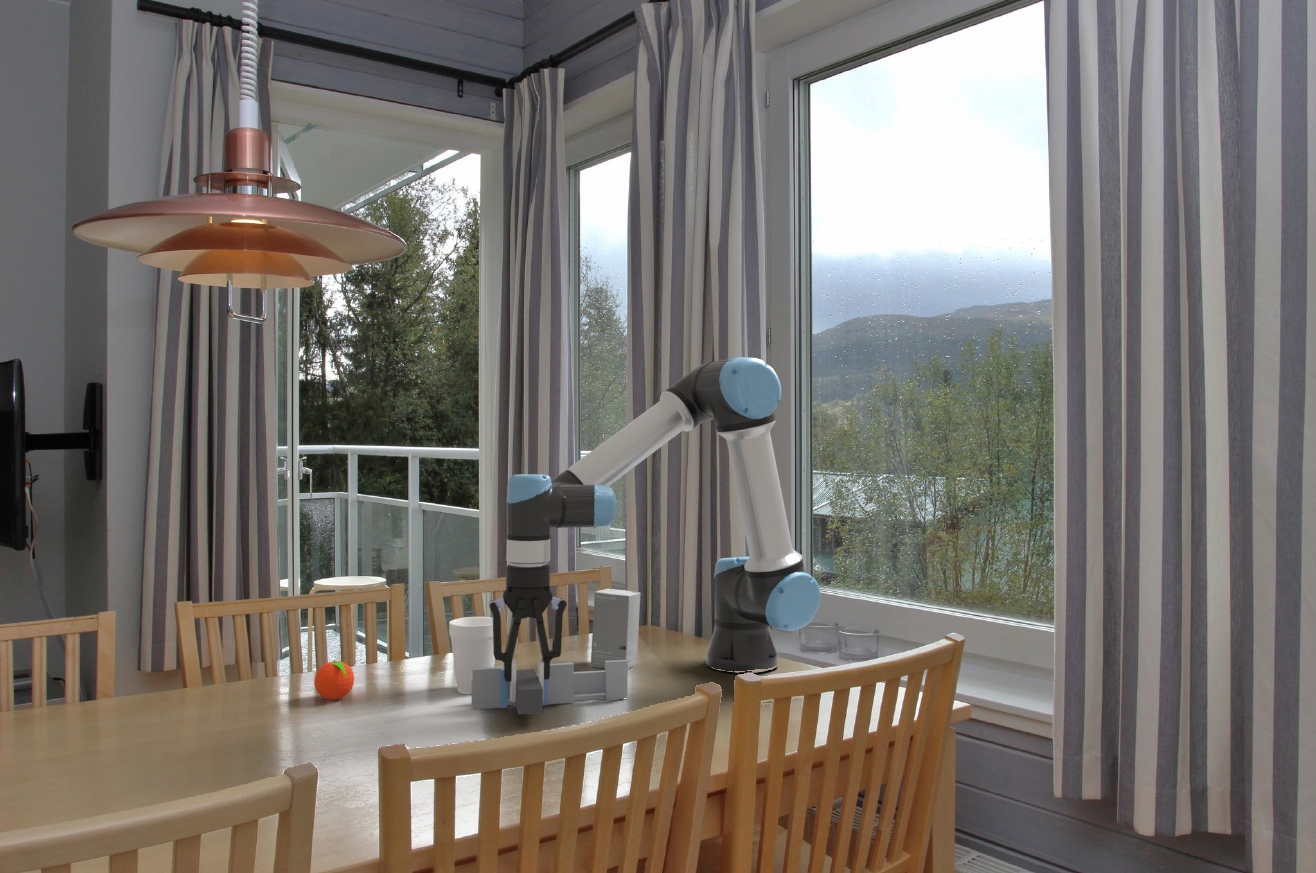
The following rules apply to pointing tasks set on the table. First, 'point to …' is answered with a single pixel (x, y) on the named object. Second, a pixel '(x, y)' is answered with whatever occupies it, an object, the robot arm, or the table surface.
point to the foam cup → (471, 648)
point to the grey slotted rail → (553, 685)
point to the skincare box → (615, 627)
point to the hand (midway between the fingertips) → (526, 698)
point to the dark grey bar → (528, 692)
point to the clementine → (334, 680)
